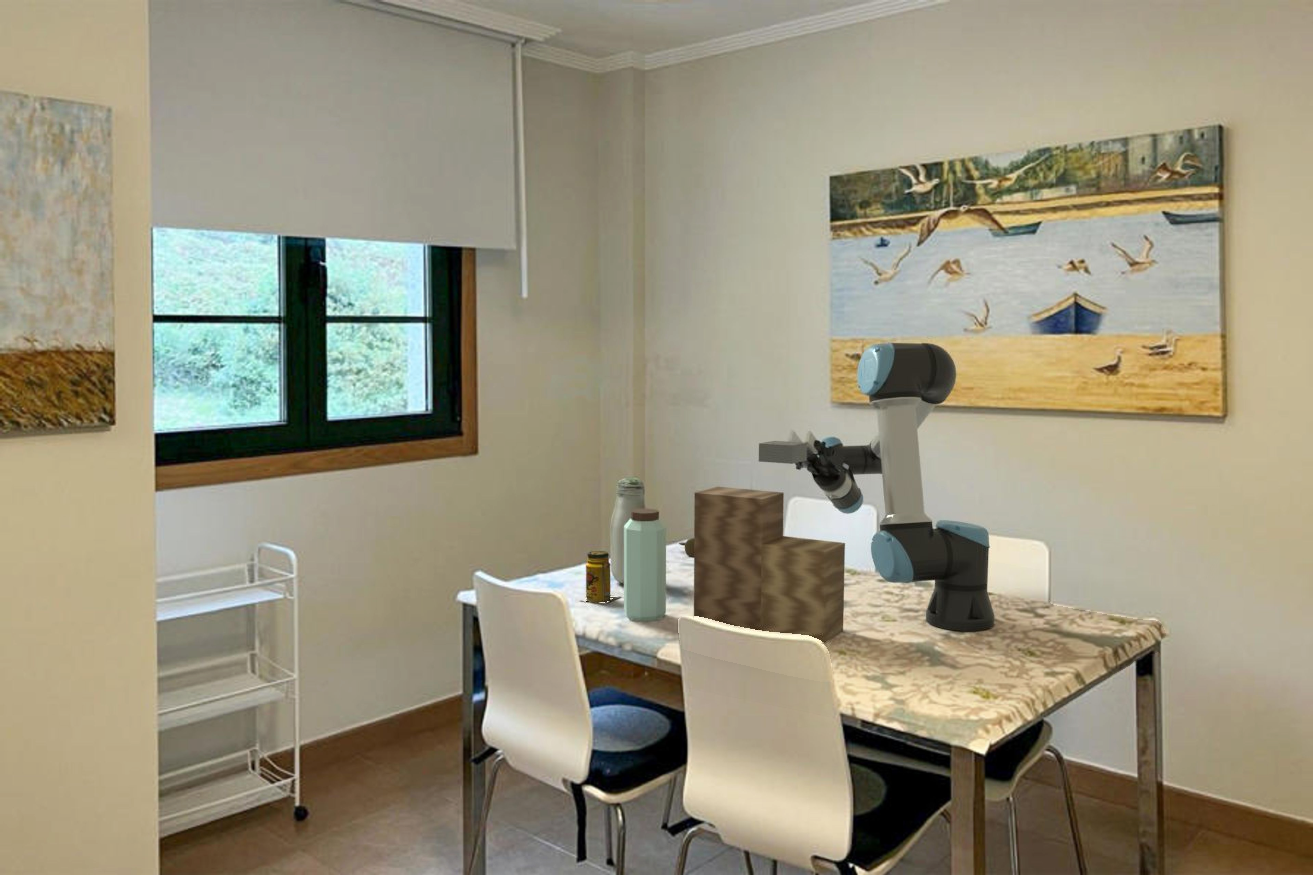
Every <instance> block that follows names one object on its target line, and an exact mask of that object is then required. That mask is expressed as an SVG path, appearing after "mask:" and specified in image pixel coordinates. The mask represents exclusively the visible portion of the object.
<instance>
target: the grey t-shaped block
mask: <svg viewBox="0 0 1313 875" xmlns="http://www.w3.org/2000/svg"><path fill="white" fill-rule="evenodd" d="M817 455H818V453H817V454H814V453H813V451H812V450H811V449H810V448H809V446H808V445H807V443H806V442H805V441H804V442H803V441H802V442H789V441H788V440H787V441H785V440H784V441H783V440H782V441H781V440H773V441H772V440H771V441H766V442H764V441H763V442H760V443H758V462H759V463H760V462H761V463H762V462H763V463H772V464H773V463H777V464H788V465H789V464H791V465H793V464H795V463H798V462H802V461H807V458H808V457H813V456H817Z"/></svg>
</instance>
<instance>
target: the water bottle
mask: <svg viewBox="0 0 1313 875" xmlns="http://www.w3.org/2000/svg"><path fill="white" fill-rule="evenodd" d="M659 516H660V511H659V510H658V509H655V508H646V509H635V510H631V518H630V520H629V521H628V522H627V523H626V524H625V525H624V583H623V611H624V612H625V615H626V616H627V618H628V619H629V620H631V619H632V620H631V621H636V620H637V621H636V622H655V621H657V620H660V619H662V618H664V616H665V615H666V613H667V527H666V526H665V525H664V523H663V522H662V521H661V520H660V519H659V518H660V517H659ZM654 620H655V621H654Z"/></svg>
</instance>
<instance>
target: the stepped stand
mask: <svg viewBox="0 0 1313 875" xmlns="http://www.w3.org/2000/svg"><path fill="white" fill-rule="evenodd" d="M784 494H785V493H784V492H781V491H770V490H759V489H747V488H736V487H725V486H714V487H712V488H707V489H702V490H699V491H696V492H694V502H693V503H694V510H693V511H694V513H693V514H694V516H693V517H694V519H693V520H694V521H693V522H694V523H693V524H694V525H693V526H694V528H693V531H694V533H693V536H694V537H693V538H694V557H693V617H694V616H699V617H704V618H708V619H712V620H715V621H719V622H723V623H726V624H730V625H734V626H740V627H744V628H750V629H755V630H762V631H769V632H780V633H792V634H801V635H809V636H812V637H814V638H817V639H819V640H821V641H822V642H824V644H826V643H827V642H829V641H831V640H832V639H833V638H835V637H837V636H838V635H840V634H842V633H843V632H844V612H845V610H844V608H845V607H844V606H845V604H844V602H845V567H846V566H845V558H846V556H845V554H846V553H845V551H846V543H845V542H839V541H830V540H829V541H828V540H823V539H822V540H821V539H813V538H812V539H811V538H804V537H797V536H795V537H793V536H786V535H784V503H785V502H784V500H785V499H784V496H785V495H784Z"/></svg>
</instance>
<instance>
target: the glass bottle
mask: <svg viewBox="0 0 1313 875" xmlns="http://www.w3.org/2000/svg"><path fill="white" fill-rule="evenodd" d="M615 492H616V499H615V502H614V508H613V511H612V514H611V520H610V522H609V523H610V524H609V526H610V530H609V532H610V539H609V540H610V542H609V543H610V573H611V575H612V576H613V578H614V580H615V581H617V582H618V583H621V584H624V525H625V524H626V523H627V522H628V521H629V520H630V518H631V510H635V509H647V508H646V505H645V486H644V483H643V481H642V480H641V479H639V478H638V477H624V478H622V479H620V480H619V481H618V482H617V484H616V491H615Z"/></svg>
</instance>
